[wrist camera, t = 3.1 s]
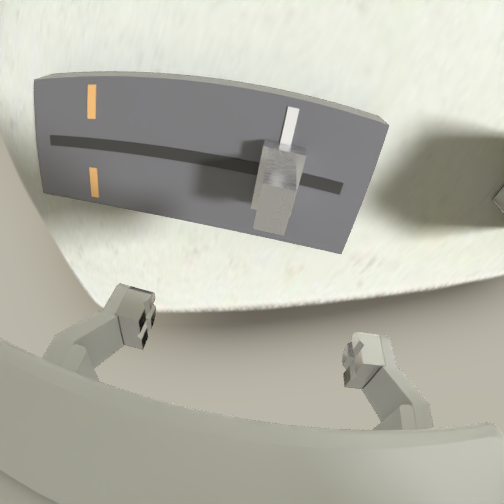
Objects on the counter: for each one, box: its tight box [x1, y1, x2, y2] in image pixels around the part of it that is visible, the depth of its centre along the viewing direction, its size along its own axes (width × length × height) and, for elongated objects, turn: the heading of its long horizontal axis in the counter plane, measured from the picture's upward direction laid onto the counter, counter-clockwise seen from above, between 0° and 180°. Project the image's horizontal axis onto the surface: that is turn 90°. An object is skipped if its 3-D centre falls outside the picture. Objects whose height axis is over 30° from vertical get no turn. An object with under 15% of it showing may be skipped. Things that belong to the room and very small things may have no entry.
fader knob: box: [251, 140, 306, 236], centre depth 21 cm, size 3×5×6 cm, turn 170°
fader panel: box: [34, 71, 389, 254], centre depth 25 cm, size 30×12×3 cm, turn 80°
